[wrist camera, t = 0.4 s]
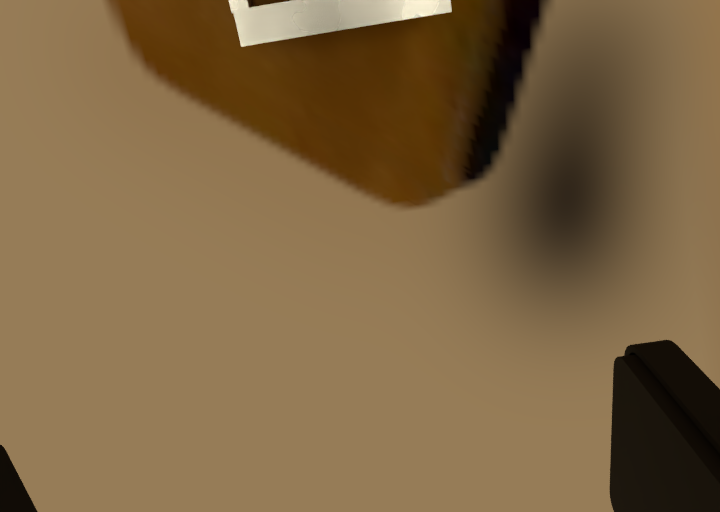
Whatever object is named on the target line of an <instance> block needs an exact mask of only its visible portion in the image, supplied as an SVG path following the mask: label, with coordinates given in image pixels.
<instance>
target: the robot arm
mask: <svg viewBox="0 0 720 512" xmlns="http://www.w3.org/2000/svg"><path fill="white" fill-rule="evenodd" d="M613 376H614V377H613V404H612V435H611V467H610V498H611V503H612V507H613V510H614V512H720V389H719V388H718V387H717V386H716V385H715V384H714V383H713V382H712V381H711V380H710V379H709V378H708V377H707V376H706V375H705V374H704V373H703V372H702V371H701V370H700V368H699V367H698V366H697V365H696V364H695V363H694V362H693V361H692V360H691V359H690V358H689V357H688V356H687V355H686V354H685V353H684V352H683V351H682V350H681V349H680V348H679V347H678V346H677V345H676V344H675V343H674V342H672V341H670V340H663V341H656V342H649V343H641V344H635V345H630V346H628V347H627V348H626V350H625V355H624V356H622V357H617V358H616V359H615V361H614V373H613ZM0 512H37V510H36V508H35V506H34V504H33V502H32V500H31V498H30V497H29V495H28V493H27V491H26V489H25V487H24V485H23V483H22V481H21V479H20V477H19V475H18V473H17V472H16V469H15V468H14V466H13V464H12V462H11V460H10V458H9V456H8V454H7V452H6V450H5V449H4V447H3V446H2V445H0Z"/></svg>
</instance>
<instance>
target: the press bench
mask: <svg viewBox="0 0 720 512" xmlns="http://www.w3.org/2000/svg"><path fill="white" fill-rule="evenodd" d="M229 4H230V9H231V13H234V17H235V21H236V26H237V30H238V35H239V39H240V44H241V47H242V46H248V45H255V44H261V43H267V42H273V41H279V40H285V39H291V38H297V37H303V36H309V35H315V34H321V33H327V32H333V31H339V30H345V29H351V28H357V27H363V26H369V25H375V24H381V23H387V22H393V21H399V20H405V19H411V18H417V17H423V16H429V15H435V14H442V13H448V12H452V11H451V0H291V1H285V2H280V3H274V4H268V5H262V6H256V7H253V6H252V1H251V0H229Z"/></svg>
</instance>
